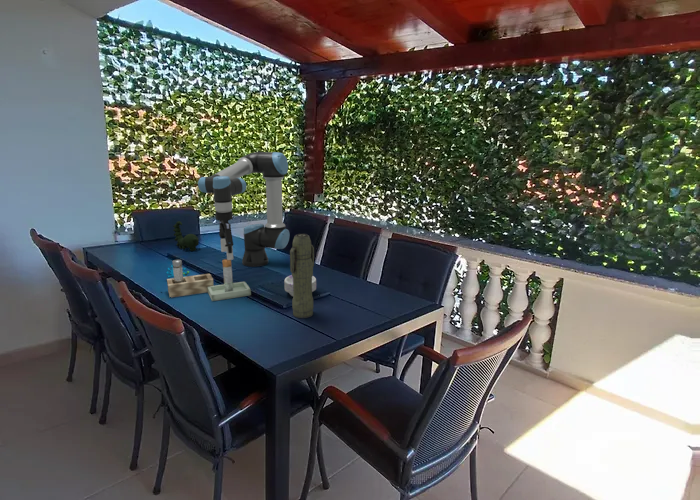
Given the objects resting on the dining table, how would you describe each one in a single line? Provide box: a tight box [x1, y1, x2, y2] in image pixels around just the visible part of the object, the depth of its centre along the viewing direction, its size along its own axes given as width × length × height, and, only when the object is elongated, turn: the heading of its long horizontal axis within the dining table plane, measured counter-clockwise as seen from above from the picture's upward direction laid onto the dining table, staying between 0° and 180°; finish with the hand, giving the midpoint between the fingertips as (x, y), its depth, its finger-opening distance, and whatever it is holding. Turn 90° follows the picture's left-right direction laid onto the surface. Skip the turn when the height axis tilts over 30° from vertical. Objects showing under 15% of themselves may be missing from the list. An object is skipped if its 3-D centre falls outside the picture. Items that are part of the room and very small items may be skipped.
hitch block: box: [166, 273, 215, 298], centre depth 204 cm, size 20×10×6 cm, turn 117°
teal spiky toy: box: [165, 264, 190, 279], centre depth 221 cm, size 11×6×10 cm
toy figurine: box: [172, 220, 200, 252], centre depth 274 cm, size 9×19×25 cm
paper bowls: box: [283, 274, 317, 297], centre depth 202 cm, size 15×15×8 cm
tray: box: [207, 281, 252, 302], centre depth 202 cm, size 18×12×3 cm, turn 117°
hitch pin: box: [221, 258, 234, 292], centre depth 200 cm, size 4×4×16 cm
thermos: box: [289, 233, 315, 319], centre depth 177 cm, size 9×12×35 cm
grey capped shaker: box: [172, 259, 184, 283], centre depth 201 cm, size 4×4×16 cm
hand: (227, 255), depth 197 cm, fingers open, 13 cm apart
